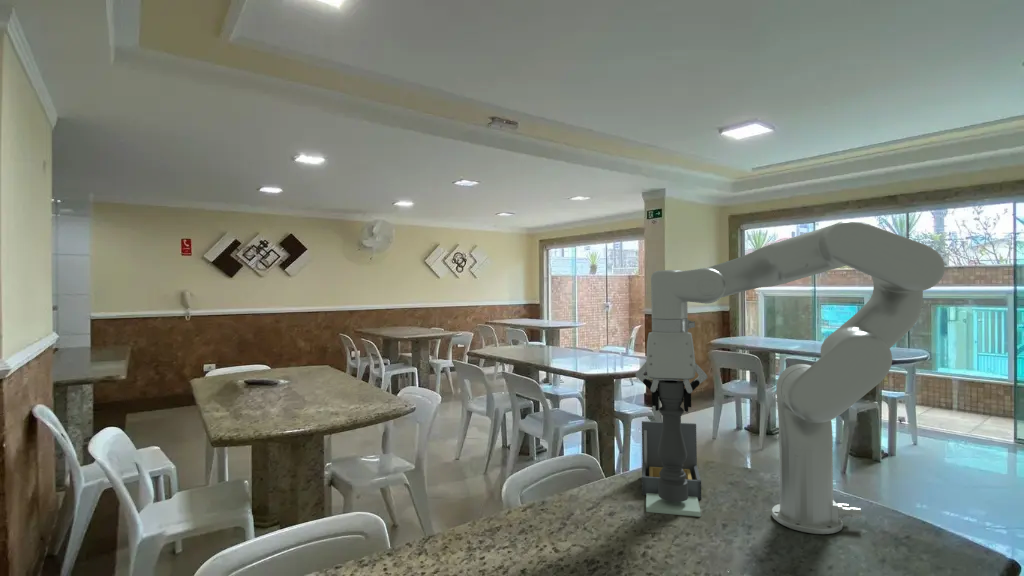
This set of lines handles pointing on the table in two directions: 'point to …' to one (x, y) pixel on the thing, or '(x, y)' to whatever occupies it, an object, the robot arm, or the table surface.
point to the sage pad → (672, 506)
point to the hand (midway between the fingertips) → (671, 409)
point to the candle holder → (672, 442)
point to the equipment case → (654, 464)
